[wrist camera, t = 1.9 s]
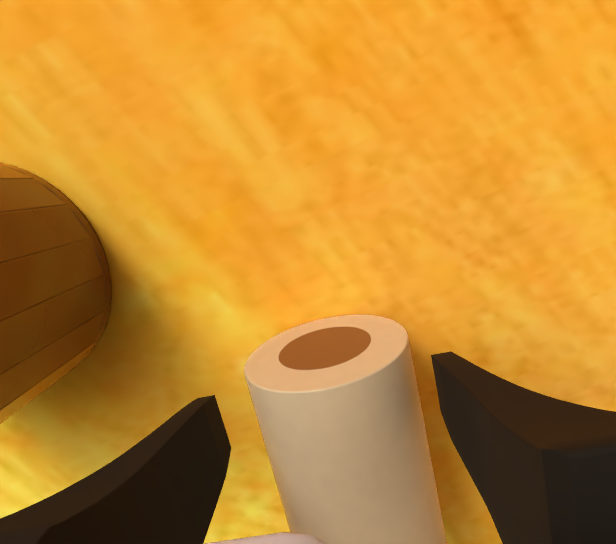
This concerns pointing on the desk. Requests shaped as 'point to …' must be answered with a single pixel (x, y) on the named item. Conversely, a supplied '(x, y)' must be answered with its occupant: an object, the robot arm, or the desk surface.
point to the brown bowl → (45, 287)
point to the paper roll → (347, 432)
